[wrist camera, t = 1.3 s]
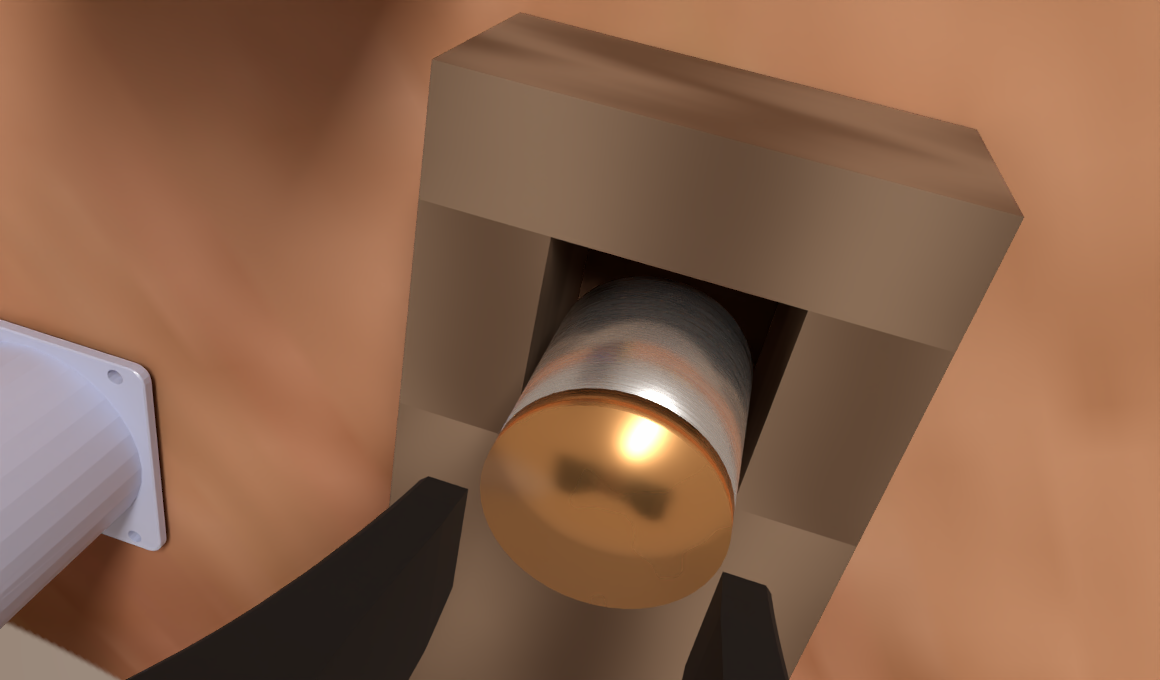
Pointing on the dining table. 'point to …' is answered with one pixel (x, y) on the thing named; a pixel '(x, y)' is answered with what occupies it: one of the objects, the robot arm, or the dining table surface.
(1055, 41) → the dining table surface
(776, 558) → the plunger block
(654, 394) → the peg
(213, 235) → the dining table surface
